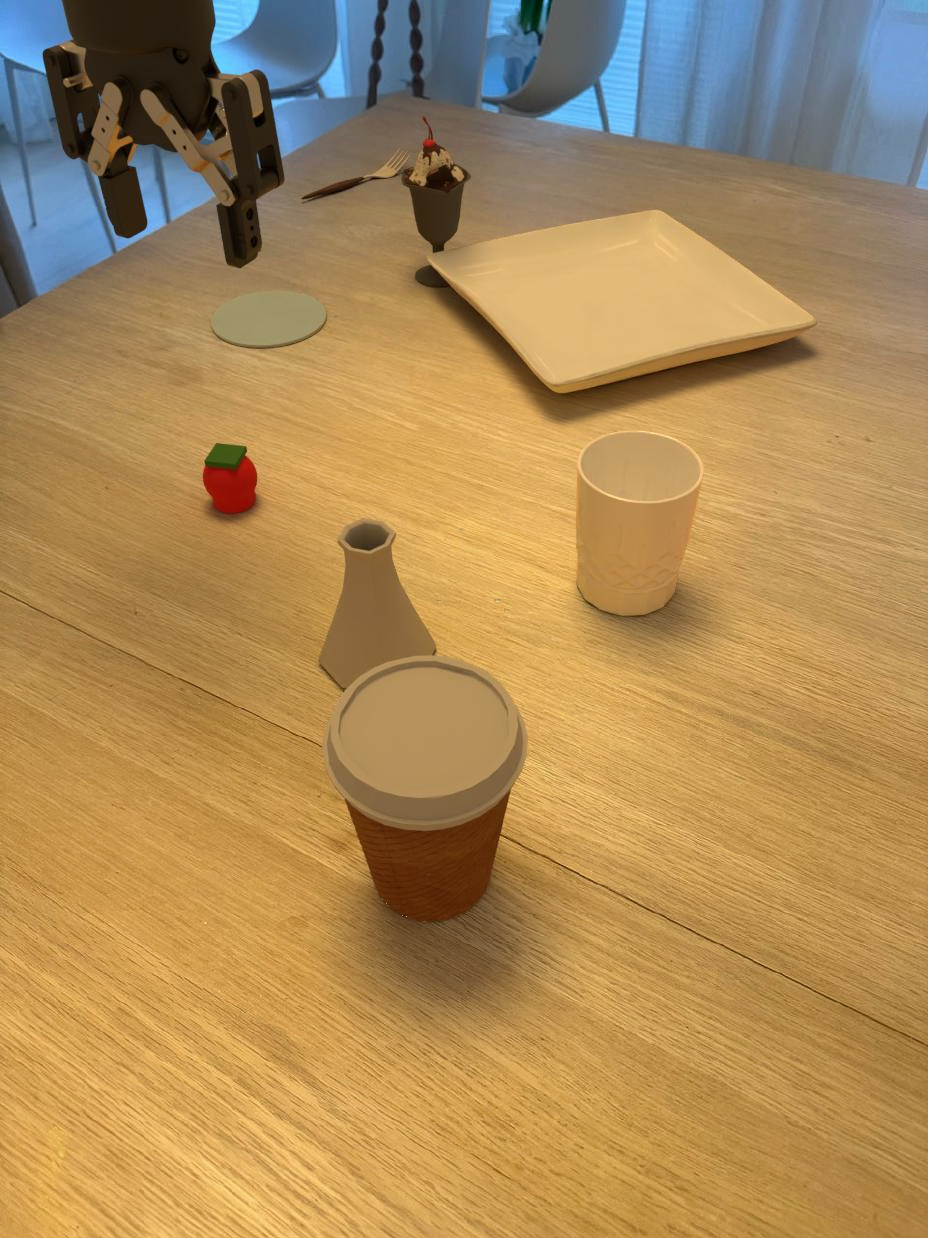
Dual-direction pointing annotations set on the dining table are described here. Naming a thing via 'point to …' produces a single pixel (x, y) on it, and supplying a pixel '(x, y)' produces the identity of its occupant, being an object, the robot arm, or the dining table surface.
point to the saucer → (268, 319)
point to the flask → (371, 608)
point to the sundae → (435, 200)
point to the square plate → (617, 298)
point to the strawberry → (230, 478)
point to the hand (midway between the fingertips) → (187, 247)
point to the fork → (363, 177)
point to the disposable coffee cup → (426, 778)
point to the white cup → (634, 518)
